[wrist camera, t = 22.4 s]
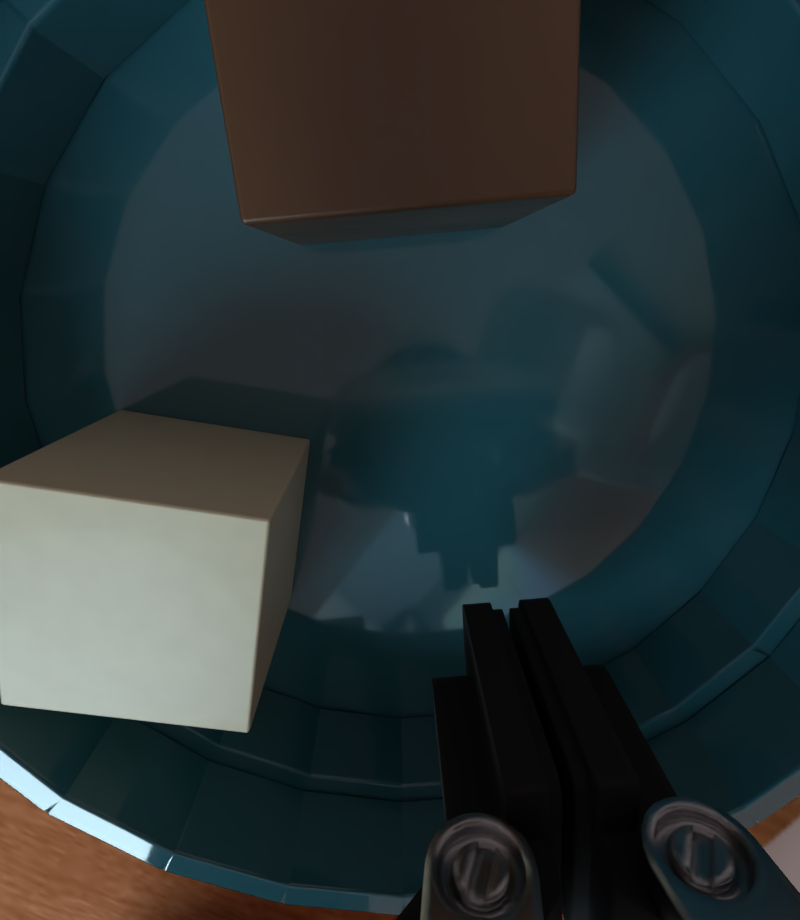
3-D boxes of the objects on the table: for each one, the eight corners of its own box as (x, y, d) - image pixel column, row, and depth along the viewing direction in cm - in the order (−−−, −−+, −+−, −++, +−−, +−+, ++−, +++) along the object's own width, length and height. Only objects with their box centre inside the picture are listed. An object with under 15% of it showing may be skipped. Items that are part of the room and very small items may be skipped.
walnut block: (502, -38, 9) (589, -287, 5) (506, 227, 10) (577, 194, 6) (261, -15, 9) (160, -243, 5) (296, 245, 10) (240, 225, 6)
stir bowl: (934, -182, 8) (1482, -645, 4) (768, 701, 14) (926, 877, 10) (-169, -74, 9) (-706, -413, 4) (118, 753, 15) (8, 948, 10)
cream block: (310, 439, 11) (270, 520, 7) (291, 596, 12) (248, 734, 9) (120, 408, 11) (-24, 477, 7) (120, 573, 12) (-1, 705, 8)
